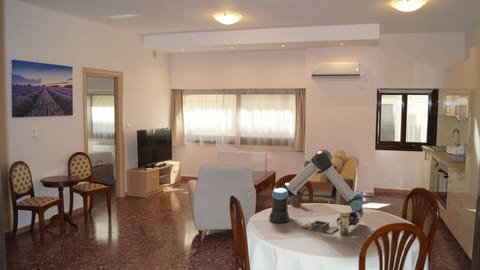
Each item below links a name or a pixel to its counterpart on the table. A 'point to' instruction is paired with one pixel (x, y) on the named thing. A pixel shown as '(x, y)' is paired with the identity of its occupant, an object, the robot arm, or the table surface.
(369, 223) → the table surface
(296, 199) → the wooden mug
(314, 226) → the wooden board with frame
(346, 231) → the brass fitting
